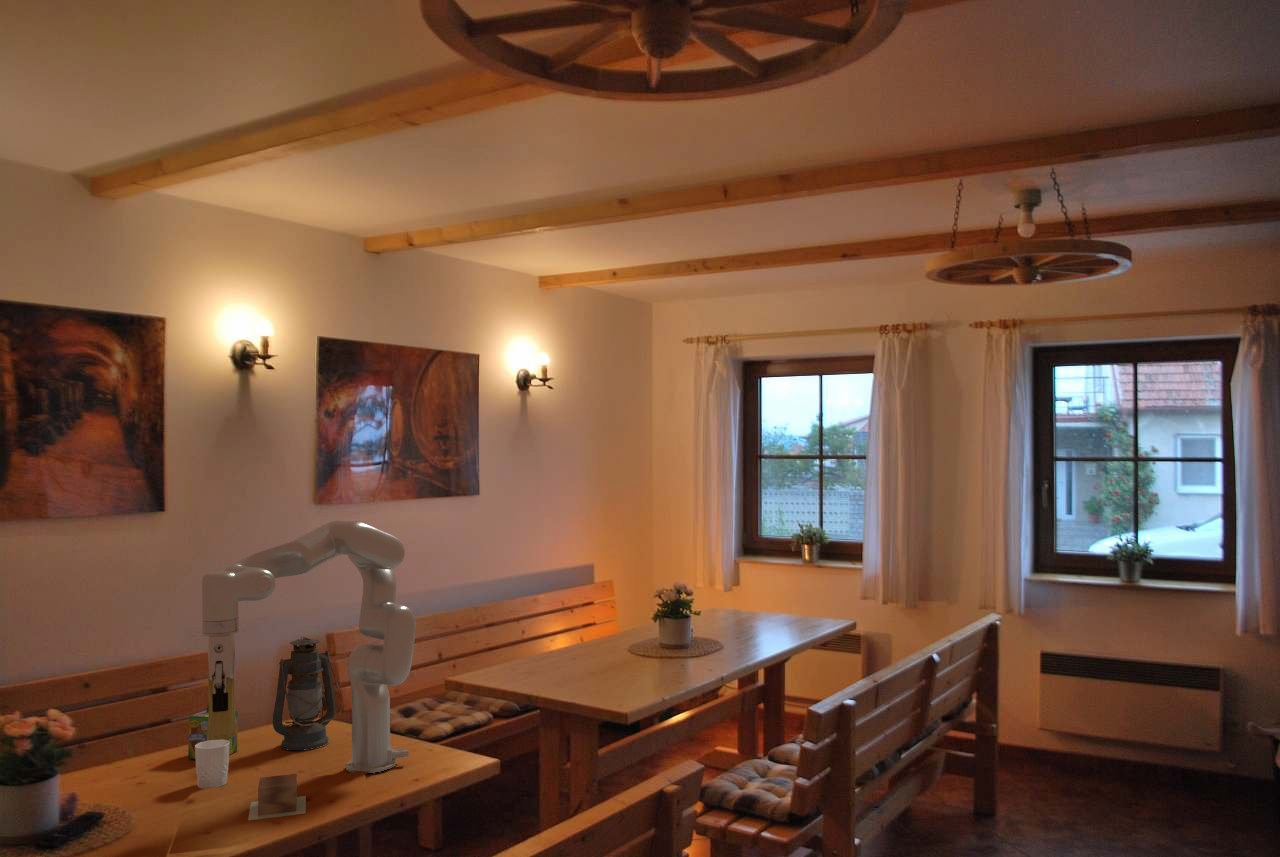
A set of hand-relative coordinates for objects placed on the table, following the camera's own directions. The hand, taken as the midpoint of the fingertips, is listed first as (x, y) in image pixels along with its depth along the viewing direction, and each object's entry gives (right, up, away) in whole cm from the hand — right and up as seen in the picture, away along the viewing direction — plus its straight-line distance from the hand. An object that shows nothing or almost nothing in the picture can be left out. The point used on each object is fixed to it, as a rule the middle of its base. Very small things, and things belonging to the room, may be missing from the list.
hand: (221, 706), depth 221 cm
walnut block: (+12, -24, +3) cm, 27 cm away
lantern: (0, -26, +55) cm, 61 cm away
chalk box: (-22, -27, +47) cm, 58 cm away
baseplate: (+12, -25, +3) cm, 27 cm away
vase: (0, -7, 0) cm, 7 cm away
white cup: (-12, -26, +23) cm, 36 cm away
